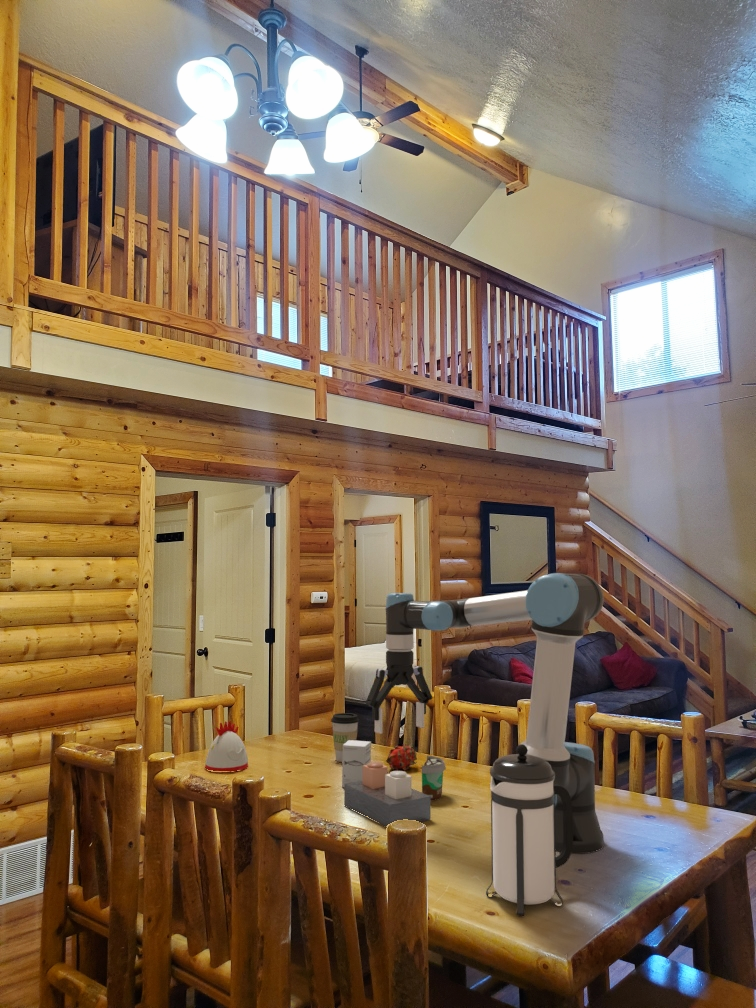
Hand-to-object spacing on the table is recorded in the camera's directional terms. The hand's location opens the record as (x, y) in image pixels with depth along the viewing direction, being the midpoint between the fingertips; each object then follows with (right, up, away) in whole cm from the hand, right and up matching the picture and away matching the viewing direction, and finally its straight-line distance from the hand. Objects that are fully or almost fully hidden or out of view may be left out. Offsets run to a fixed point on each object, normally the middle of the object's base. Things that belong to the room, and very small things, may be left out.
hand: (399, 729), depth 195 cm
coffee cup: (-17, -28, +55) cm, 64 cm away
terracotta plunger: (-7, -18, +5) cm, 20 cm away
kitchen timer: (-56, -27, +45) cm, 77 cm away
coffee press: (+24, -18, -51) cm, 59 cm away
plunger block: (-4, -22, 0) cm, 23 cm away
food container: (+11, -24, +14) cm, 30 cm away
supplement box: (-12, -25, +25) cm, 37 cm away
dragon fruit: (+2, -27, +43) cm, 51 cm away
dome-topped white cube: (-1, -17, -4) cm, 17 cm away
